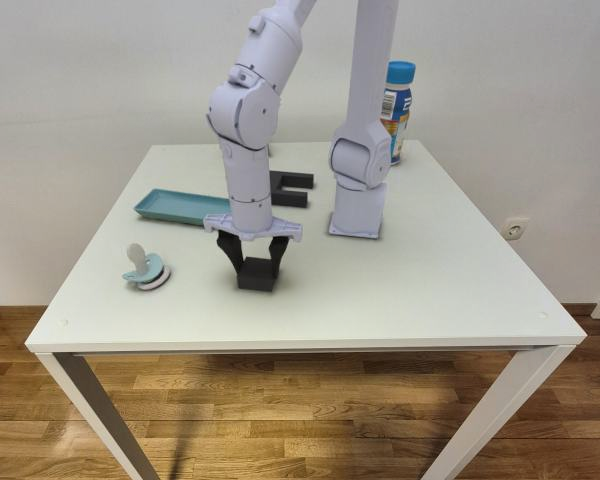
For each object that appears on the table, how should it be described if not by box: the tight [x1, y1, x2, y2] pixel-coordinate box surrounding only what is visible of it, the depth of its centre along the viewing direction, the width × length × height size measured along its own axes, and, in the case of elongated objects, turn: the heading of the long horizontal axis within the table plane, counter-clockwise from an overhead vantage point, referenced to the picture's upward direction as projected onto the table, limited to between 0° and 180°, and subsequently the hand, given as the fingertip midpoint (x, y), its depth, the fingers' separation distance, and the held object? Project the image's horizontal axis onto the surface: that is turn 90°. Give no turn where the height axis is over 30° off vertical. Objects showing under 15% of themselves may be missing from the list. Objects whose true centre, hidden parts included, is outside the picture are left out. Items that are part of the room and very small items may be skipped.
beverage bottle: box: [380, 60, 417, 166], centre depth 83 cm, size 8×8×20 cm
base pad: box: [269, 169, 315, 209], centre depth 78 cm, size 14×11×2 cm
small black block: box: [236, 256, 276, 293], centre depth 57 cm, size 6×6×2 cm
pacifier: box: [121, 242, 171, 290], centre depth 56 cm, size 7×6×6 cm
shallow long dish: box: [132, 187, 231, 227], centre depth 71 cm, size 26×9×2 cm, turn 78°
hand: (257, 273), depth 57 cm, fingers closed on small black block, 5 cm apart
